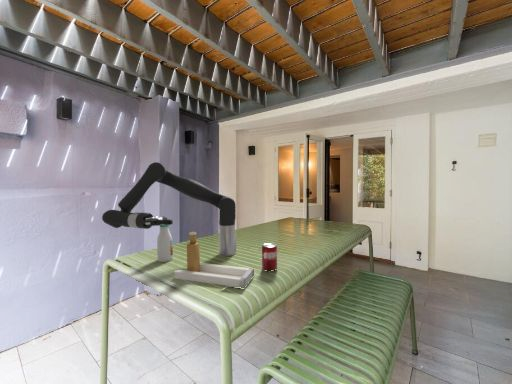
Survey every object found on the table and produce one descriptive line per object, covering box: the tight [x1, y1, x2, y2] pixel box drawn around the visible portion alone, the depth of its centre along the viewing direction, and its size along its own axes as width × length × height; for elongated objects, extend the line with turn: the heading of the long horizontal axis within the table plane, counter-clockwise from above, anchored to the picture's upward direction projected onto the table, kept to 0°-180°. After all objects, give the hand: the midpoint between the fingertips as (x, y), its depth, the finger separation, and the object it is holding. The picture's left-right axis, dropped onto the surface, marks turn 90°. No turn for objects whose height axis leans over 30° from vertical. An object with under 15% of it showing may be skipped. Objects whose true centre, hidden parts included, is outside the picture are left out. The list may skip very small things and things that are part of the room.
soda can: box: [261, 242, 278, 271], centre depth 115 cm, size 7×7×12 cm
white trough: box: [173, 262, 255, 289], centre depth 105 cm, size 32×13×4 cm, turn 73°
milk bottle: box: [156, 224, 174, 263], centre depth 129 cm, size 8×8×20 cm
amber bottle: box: [186, 231, 201, 272], centre depth 108 cm, size 6×6×19 cm
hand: (171, 222), depth 110 cm, fingers closed
